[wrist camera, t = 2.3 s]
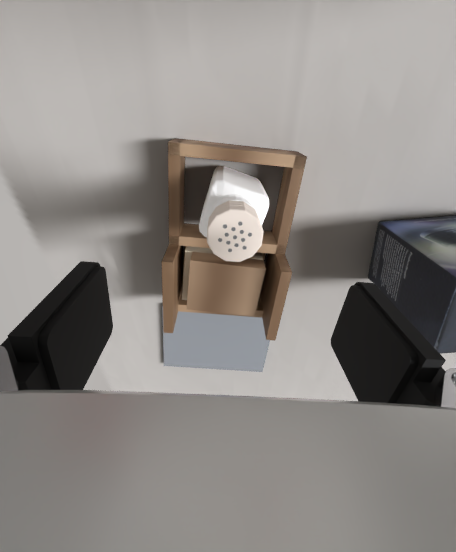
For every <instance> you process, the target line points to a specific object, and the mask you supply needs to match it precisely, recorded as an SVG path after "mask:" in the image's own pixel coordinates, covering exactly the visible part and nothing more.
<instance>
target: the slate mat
mask: <svg viewBox="0 0 456 552" xmlns="http://www.w3.org/2000/svg"><path fill="white" fill-rule="evenodd" d="M162 312H163V305H162ZM269 342H270V340H266V336H265V331H264V325H263V319H262V318H261V317H248V316H234V315H220V314H207V313H193V312H180V311H178V314H177V319H176V323H175V327H174V331H173V333H163V350H164V366H176V367H192V368H208V369H224V370H240V371H256V372H262V371H263V367H264V363H265V359H266V354H267V350H268V346H269Z"/></svg>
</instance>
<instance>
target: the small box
mask: <svg viewBox="0 0 456 552" xmlns="http://www.w3.org/2000/svg"><path fill="white" fill-rule="evenodd" d="M368 278H369V279H370V280H371V281H372V282H373V283H374V284H375V285H376V286H377V287H378V289H379V290H380V291H381V292H382V293H383V294H384V295H385V296H386V297H387V298H388V299H389V300H390V301H391V302H392V303H393V305H394V306H395V307H396V308H397V309H398V310H399V311H400V312H401V313H402V314H403V315H404V316H405V317H406V318H407V319H408V320H409V322H410V323H411V324H412V325H413V326H414V327H415V328H416V329H417V330H418V331H419V332H420V333H421V334H422V335H423V336H424V338H425V339H426V340H427V341H428V342H429V343H430V344H431V345H432V346H433V347H434V348H435V349H436V350H437V351H438V352H439V353H454V352H456V215H454V216H442V217H430V218H418V219H407V220H395V221H383V222H379V223H378V227H377V232H376V237H375V242H374V248H373V253H372V258H371V264H370V269H369V274H368Z"/></svg>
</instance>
